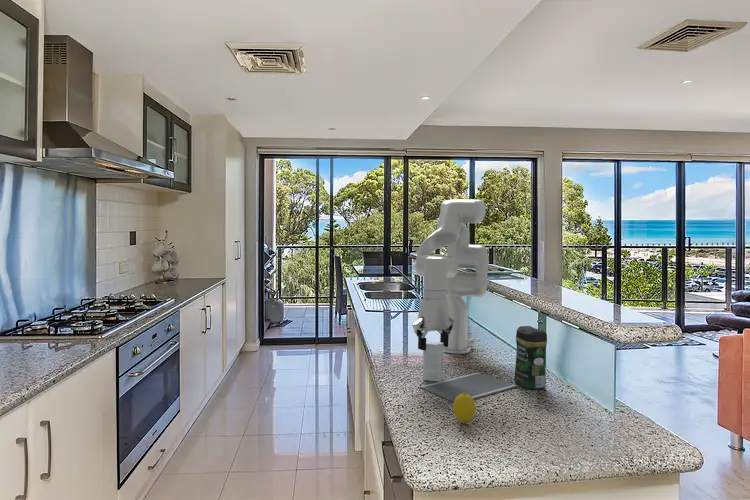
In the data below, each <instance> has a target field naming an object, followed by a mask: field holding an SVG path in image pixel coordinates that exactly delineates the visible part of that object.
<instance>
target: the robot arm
mask: <svg viewBox="0 0 750 500" xmlns="http://www.w3.org/2000/svg"><path fill="white" fill-rule="evenodd" d="M486 208H487V207H486V204H485V202H484V201H483V200H481V199H448V200H444V201H442V203H441V204H440V212H439V217H438V221H437V225H436V229H435V231H434V232H431V234H430V235H428V236H427V237H426V238H424V239H423V241H422V242H421V244H420V245H419V248H418V250H417V254H416V257H415V258H416V259H415V263H414V264H415V266H414V267H415V272H416V274H417V275H418V276H420V277H423V292H422V297H423V298H422V299H421V300H420V303H419V306H418V307H419V308H418V314H417V320H416V321H415V322H413V323H412V328H413V332H414V334H416V337H417V338H418V339H417V340H418V341H417V348H418V350H420V351H423V350H424V351H425V350H426V341H427V337H426V336H427V334H428V333H429V332H436V331H437V332H438V331H441V333H440V336H439V337H440V339H439V342H443V343H444V353H445V354H455V355H461V354H469V353H470V352H471V351H472V349H471V347H470V346H469V345H470V344H474V343H475V341H476V340H475V339H474V338H468V317H469V316H468V313H469V307H468V304H467V303H466V301H465V299H464V298H463V297H473V298H482V297H484V296H485V295H486V294H487V290H488V289H487V288H488V266H489V256H488V250H487V248H486V247H485V246H484V245H481V244H470V230H469V228H468V227H467V226H466V224H480V223H481V222H482V221H484V219H485V216H486ZM446 246H447V249H446V255H443V254H442V255H439V254H431V253H432V252H434V251H436V250H438V249H441V248H444V247H446ZM459 269H467V270H474V271H475V272H472V271H471V272H469V271H467V272H466V271H459Z"/></svg>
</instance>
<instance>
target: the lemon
mask: <svg viewBox="0 0 750 500" xmlns="http://www.w3.org/2000/svg"><path fill="white" fill-rule="evenodd" d="M452 407H453V408H452V409H453V415H454V417H455V418H456V420H458V421H460V422H461V423H462V424H466V423H468V422H470V421H471V420H473V418H474V417H475V414H476V402H475V400H473V398H472V397H471V396H470V395H468V394H467V393H465V392H464V393H462V394H460V395H458V396H457V397H456V398H455V401H454V403H453V406H452Z"/></svg>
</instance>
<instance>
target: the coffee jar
mask: <svg viewBox="0 0 750 500" xmlns="http://www.w3.org/2000/svg"><path fill="white" fill-rule="evenodd" d="M515 333H516V335H515V341H516V343H515V344H516V354H515V355H516V356H515V366H514V367H515V368H514V379H513V380H514V382H515V383H516V384H517V385H519V386H521V387H523V388H525V389H527V390H529V389H530V390H534V391H535V390H536V389H537V390H541V389H543V388H545V387H546V348H547V345H548V335H547V332H545V331H544V330H541V329H538V328H536V327H533V326H531V325H523V326H521V325H520V326H519V327H518V328H517V329H516V332H515ZM537 390H536V391H537Z"/></svg>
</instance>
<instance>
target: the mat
mask: <svg viewBox="0 0 750 500" xmlns="http://www.w3.org/2000/svg"><path fill="white" fill-rule="evenodd" d="M517 387H518V386H517V385H516V384H513V383H509V382H506V381H504V380H500V379H498V378H495V377H492V376H489V375H486V374H484V373H481V372H474V373H470V374H466V375H461V376H457V377H454V378H453V377H452V378H450V379H446V380H442V381H441V382H437V381H436V382H435V383H434V382H433V383H428V384H424V385H421V386H419V389H421V390H424V391H426V392H428V393H431V394H433V395H435V396H438V397H439V398H441V399H442V398H443V399H444V400H447V401H449V402H452V403H453V404H454V401H455V398H456V397H457V396H458V395H460V394H462V393H464V392H465V393H467V394H468V395H470V396H471V397H472V398H473V400H474V401H475V400H478V399H481V398H484V397H488V396H491V395H494V394H498V393H502V392H506V391H508V390H511V389H512V390H513V389H514V388H517Z"/></svg>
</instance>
